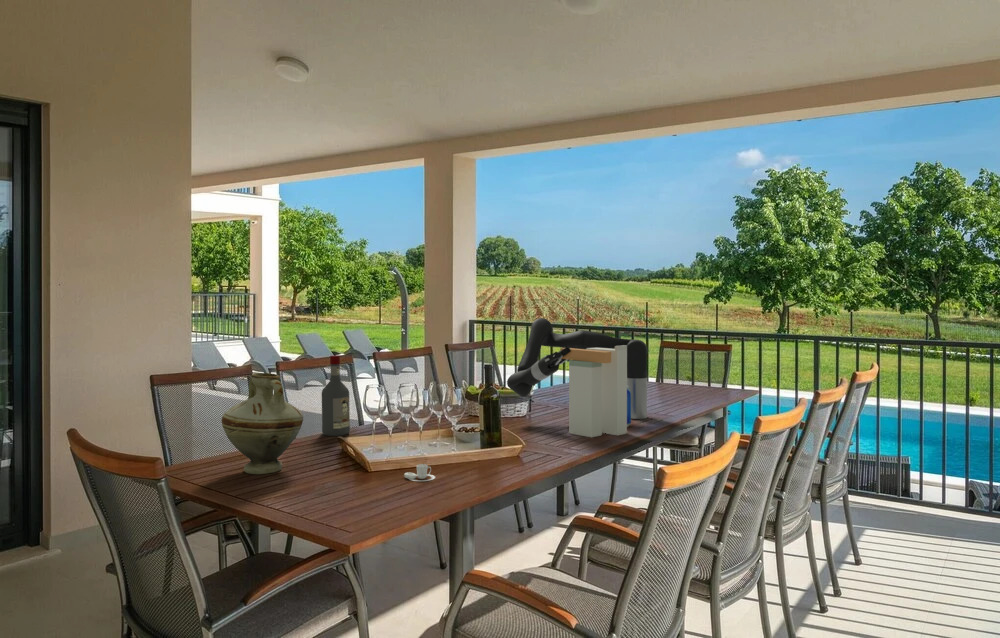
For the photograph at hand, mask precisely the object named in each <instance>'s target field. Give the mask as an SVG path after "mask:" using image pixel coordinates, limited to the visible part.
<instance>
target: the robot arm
mask: <svg viewBox="0 0 1000 638" xmlns="http://www.w3.org/2000/svg"><path fill="white" fill-rule="evenodd" d="M530 325H531V326H530V333H529V336H528V337H529V338H528V340H527V344H526V347H525V349H524V352H523V353H522V356H521V359H520V361H519V363H518V366H517V368H516V369H517V370H516V371H517V372H514V373H512V374H511V375H509V377H508V378H507V381H506V385H507V387H508V388H509V389H510V390H511V391H513V392H514V393H515V394H516V395H518V396H520V397H522V398H525V397H527V396H529V395H530V393H531V392H532V390H533V386H535V385H537V384H539V383H540V382H542V381H543V380H546V379H548V378H549V377H550V376H552V375H554V374H555V373H556V372H558V370H559V369H560V366H561V365H563V364H564V363H565V362H566V361H567V363H569V359H561V358H562V357H564V356H565V355H566V354H568V353H569V352H571V350H570V348H575V349H586V348H610V349H615V346H622V345H627V386H629V387H628V388H629V389H630V391H631V420H632V419H634V420H644V419H647V418H648V362H647V361H648V351H649V350H648V345H647V344H646V343H645V342H644V341H643V340H641V339H631V338H619V337H614V336H611V335H607V334H604V333H599V332H595V331H589V330H585V329H580V330H576V331H573V332H569V333H556V332H553V328H552V326H553V325H552V322H550V320H549V319H547V318H544V317H540V318H537V319H535V320H534V321H532V323H531V324H530ZM542 347H551V348H552V347H553V348H565V349H563V350H562V351H560V350H559V351H554V352H552V353H550V354H546V355H545V356H543V357H542V358H540V353H541V348H542ZM539 358H540V359H539Z"/></svg>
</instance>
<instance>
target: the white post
mask: <svg viewBox="0 0 1000 638" xmlns="http://www.w3.org/2000/svg"><path fill="white" fill-rule="evenodd" d="M586 350H597V351H608V352H611V363H602V434H605V433H606V435H611V436H620V435H626V434H628V431H627V430H628V427H627V345H622V346H615V349H610V348H586Z"/></svg>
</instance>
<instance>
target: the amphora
mask: <svg viewBox="0 0 1000 638" xmlns="http://www.w3.org/2000/svg"><path fill="white" fill-rule="evenodd" d="M280 378H281V376H280V375H279V374H276V373H270V372H268V373H267V372H255V373H252V374H250V380H249V382H248V397H247V399H246V400H243V401H241V402H239V403H237V404H235V405H233V406H232V407H230V408H229V409H228V410H226V411H225V412H224V413H223V414H222V417H221V424H222V425H221V426H222V429H223V431H224V433H225V435H226V437H227V439H228V440H229V442H230V444H232V445H233V446H234V447H235V449H237V451H239V452H240V453H241V454H242V455H243V456H244V457H246V458H248V460H250V462H247V463H246V464H245V465H244V466H243V471H244V472H245V473H246V474H249V475H250V474H251V475H266V474H273V473H277V472H279V471H281V470H282V469H283V463H282V462H281V461H280V460H278V459H279V457H281V456H282V455H283V454H284V453H285V451H286V450H287V449H288V448H289V447H290V445H291V444H292V443H293V442H294V441H295V439H296V438H297V436H298V434H299V432H300V430H301V429H302V425H303V421H304V414H303V412H302V411H301V410H300V409H299V408H297V407H296V406H294V405H292V404H291V403H289V402H287V401H285V399H284V387H283V384H282V382H281V381H280Z"/></svg>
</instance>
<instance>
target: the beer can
mask: <svg viewBox="0 0 1000 638" xmlns="http://www.w3.org/2000/svg"><path fill="white" fill-rule="evenodd" d="M628 387H629V386H627V428H628V427H629V426H630V425H631V423H632V419H631V391H630V389H629V388H628Z"/></svg>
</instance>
